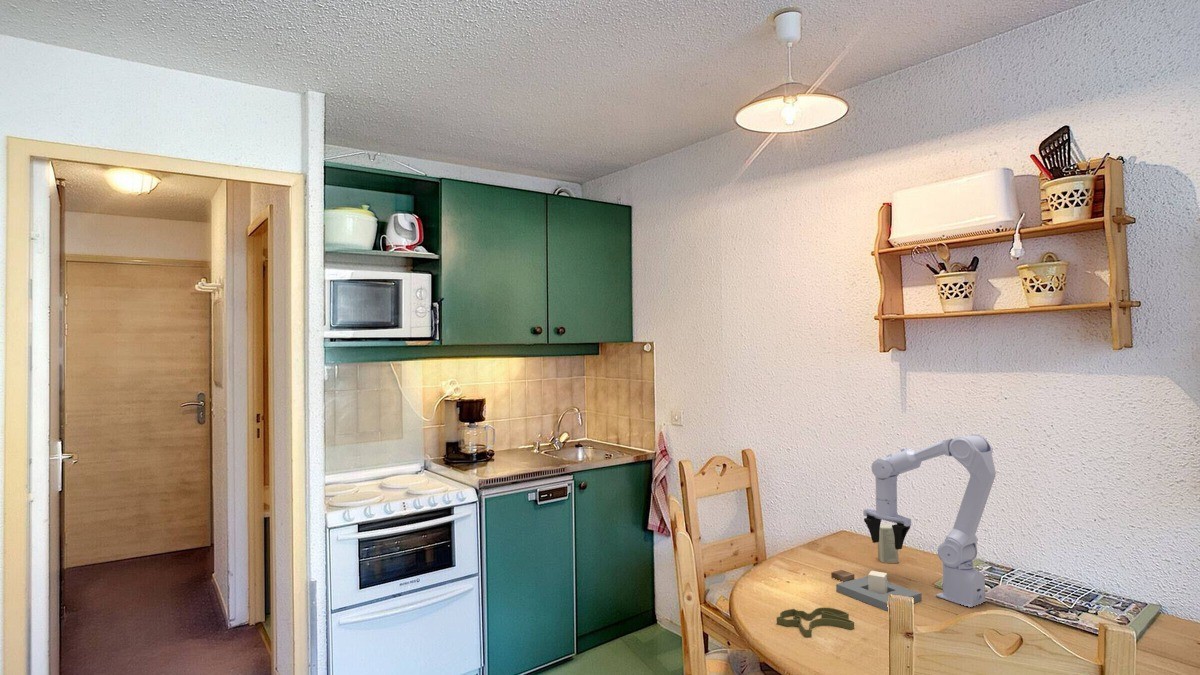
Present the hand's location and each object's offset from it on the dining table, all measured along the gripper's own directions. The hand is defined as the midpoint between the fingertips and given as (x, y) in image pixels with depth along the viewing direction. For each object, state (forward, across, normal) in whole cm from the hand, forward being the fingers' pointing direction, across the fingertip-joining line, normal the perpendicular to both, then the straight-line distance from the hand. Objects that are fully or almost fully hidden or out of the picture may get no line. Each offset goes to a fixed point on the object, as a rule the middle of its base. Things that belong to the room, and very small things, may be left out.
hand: (887, 545), depth 188 cm
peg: (+10, -8, +15) cm, 19 cm away
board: (+9, -8, +15) cm, 19 cm away
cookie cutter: (+10, -12, +44) cm, 47 cm away
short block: (+10, +6, +12) cm, 17 cm away
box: (+10, +10, -14) cm, 20 cm away
